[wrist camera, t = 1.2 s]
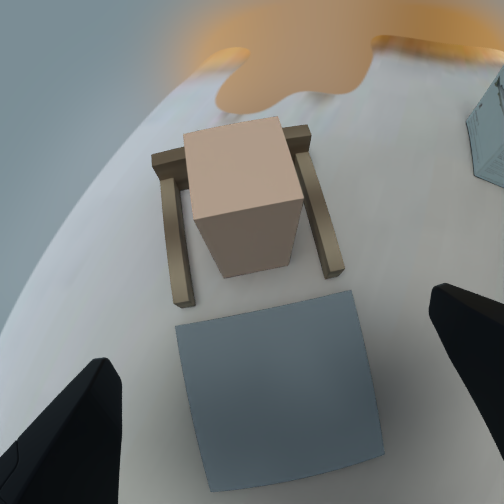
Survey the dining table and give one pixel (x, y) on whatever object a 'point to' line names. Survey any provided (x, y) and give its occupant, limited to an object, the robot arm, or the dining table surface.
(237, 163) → the peach block
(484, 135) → the supplement box
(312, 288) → the dining table surface
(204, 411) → the slate rubber mat
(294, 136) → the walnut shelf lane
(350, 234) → the dining table surface
